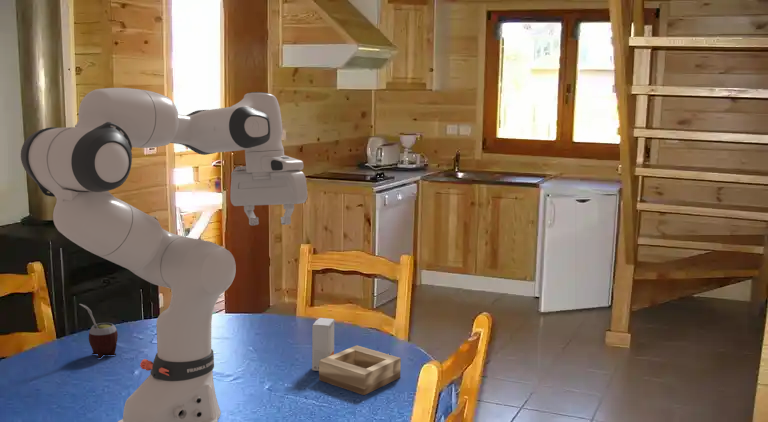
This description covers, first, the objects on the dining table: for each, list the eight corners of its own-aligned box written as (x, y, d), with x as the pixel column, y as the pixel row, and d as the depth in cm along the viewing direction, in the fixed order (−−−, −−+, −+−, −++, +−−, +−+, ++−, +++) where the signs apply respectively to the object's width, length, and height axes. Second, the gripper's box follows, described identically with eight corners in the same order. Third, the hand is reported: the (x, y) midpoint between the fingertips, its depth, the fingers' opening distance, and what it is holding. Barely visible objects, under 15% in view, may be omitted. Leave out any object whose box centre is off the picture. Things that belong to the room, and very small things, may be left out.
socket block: (364, 395, 175) (364, 374, 174) (319, 380, 183) (319, 360, 182) (400, 377, 185) (400, 358, 185) (356, 364, 194) (356, 345, 193)
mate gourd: (123, 351, 200) (120, 296, 198) (109, 362, 193) (106, 304, 190) (95, 349, 201) (93, 295, 199) (81, 360, 193) (78, 303, 191)
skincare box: (328, 372, 188) (328, 325, 186) (311, 370, 189) (311, 324, 187) (334, 363, 194) (334, 318, 192) (318, 362, 195) (318, 317, 193)
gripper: (221, 167, 176) (226, 226, 177) (292, 162, 165) (296, 225, 166) (240, 166, 181) (244, 224, 182) (309, 161, 171) (313, 222, 171)
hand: (269, 224), depth 174 cm, fingers open, 8 cm apart
